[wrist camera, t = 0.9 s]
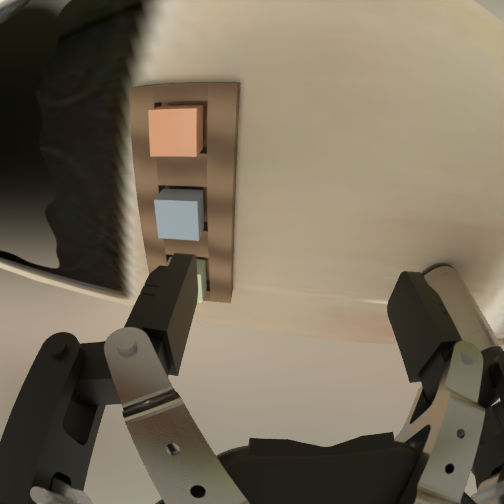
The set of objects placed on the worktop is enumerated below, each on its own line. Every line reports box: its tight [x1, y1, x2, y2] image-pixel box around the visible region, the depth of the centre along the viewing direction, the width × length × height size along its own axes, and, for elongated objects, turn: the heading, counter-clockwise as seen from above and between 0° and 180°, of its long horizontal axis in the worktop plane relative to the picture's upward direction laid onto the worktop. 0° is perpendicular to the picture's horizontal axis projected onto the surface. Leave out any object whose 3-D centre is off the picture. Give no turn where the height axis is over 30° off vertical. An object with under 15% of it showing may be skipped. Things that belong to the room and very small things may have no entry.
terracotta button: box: [148, 105, 204, 157], centre depth 28 cm, size 5×5×3 cm
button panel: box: [129, 82, 240, 303], centre depth 36 cm, size 30×12×3 cm, turn 177°
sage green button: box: [166, 257, 207, 303], centre depth 39 cm, size 5×5×3 cm
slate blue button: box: [154, 189, 204, 241], centre depth 34 cm, size 5×5×3 cm
